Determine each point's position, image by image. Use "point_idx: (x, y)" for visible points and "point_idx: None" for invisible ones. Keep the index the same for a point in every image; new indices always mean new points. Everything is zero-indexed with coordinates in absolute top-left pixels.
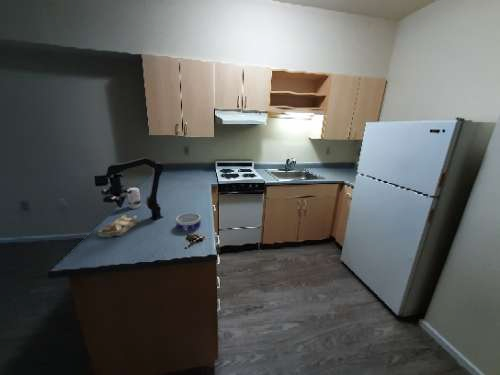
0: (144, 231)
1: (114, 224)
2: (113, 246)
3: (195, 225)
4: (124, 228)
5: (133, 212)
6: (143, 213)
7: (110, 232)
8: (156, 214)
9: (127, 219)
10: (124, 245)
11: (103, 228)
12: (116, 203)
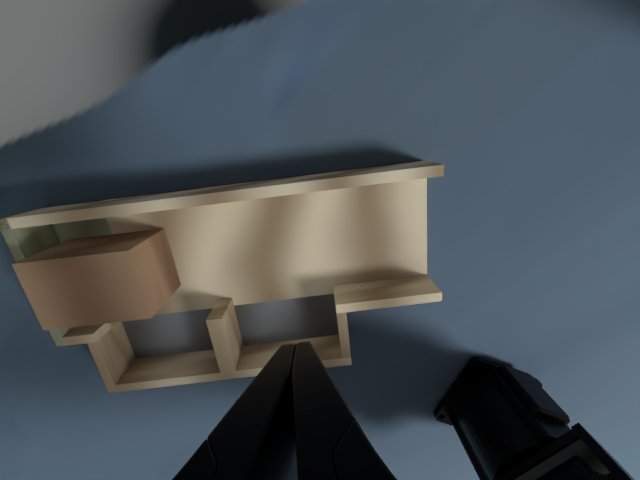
0: None
1: (143, 306)
2: (26, 412)
3: None
4: (178, 382)
5: (589, 116)
6: (564, 243)
7: (60, 341)
8: (473, 464)
9: (394, 207)
10: (73, 455)
11: (22, 272)
12: (203, 447)
